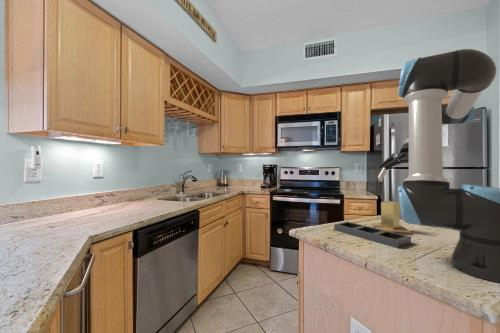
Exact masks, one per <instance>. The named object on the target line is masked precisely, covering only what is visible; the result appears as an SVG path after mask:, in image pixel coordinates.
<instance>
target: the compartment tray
mask: <svg viewBox="0 0 500 333" xmlns="http://www.w3.org/2000/svg"><path fill="white" fill-rule="evenodd" d="M333 227H334V228H333V229H334V231H335V232H338V233H341V234H347V235H348V236H349V235H350V236H353V237H356V238H359V239H363V240H366V241H369V242H374V243H378V244H380V245H384V246H388V247H391V248H395V249H400V248H403V247H406V246H409V245H411V244H412V235H402V234H398V233H394V232H390V231H385V230H381V229H377V228H373V227H372V226H367V225H364V224H359V223H354V222H351V221H344V222H340V223H334V226H333Z"/></svg>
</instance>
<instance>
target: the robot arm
mask: <svg viewBox="0 0 500 333" xmlns="http://www.w3.org/2000/svg"><path fill="white" fill-rule="evenodd" d="M496 66H497V65H496V63H495V61H494V60H493V59H492V58H491V56H489V55H488V54H487V53H485V52H483V51H480V50H478V49H471V48H464V49H463V48H462V49H456V50H453V51H447V52H443V53H438V54H434V55H428V56H423V57H420V56H419V57H417V58H413V59H409V60H406V61H405V62H404V63H403V64H402V67H401V71H400V76H399V82H398V83H399V85H398V97H399V98H403V103H405V105H407V106H408V135H407V137H406V139H405V141H404V142H403V145H402V146H401V148H400V150H399V153H398V154H395V153H391V155H390V156H388V157H387V158H386V159H385V160H383V161H382V162H381V163H380V164H379V165H378V169H379V172H378V176H377V178H378V181H379V182H383V180H384V178H385V176H386V175H387V173H388V171H387V170H389V169H391V168H393V167H395V166H397V165H400V164H405V163H407V164H408V175H407V177H406V178H404V179H403V180H402V185H400V186H398V187H397V193H398V199H399V203H400V213H401V218H402V221H404V222H405V223H406V224H408V225H417V226H419V227H423V226H424V227H430V228H431V227H433V228H441V229H451V230H458V231H459V239H458V241H457V243H456V245H455V247H454V250H453V251H452V253H451V258H450V259H451V261H450V262H451V266H453V267H454V268H455V269H457V270H459V271H461V272H463V273H465V274H468V275H470V276H473V277H475V278H479V279H482V280H485V281H486V280H487V281H491V282H495V283H500V187H493V186H487V185H486V186H484V185H478V184H467V183H461V184H460V185H459V187H458V188H451V183H450V181H449V180H448V179H447V178H446V177H444V170H443V165H444V164H443V160H444V159H443V126H444V125H445V126H446V125H457V124H459V125H462V124H469V123H471V122H473V121H474V118H475V111H476V110H475V107H474V104H475V103H476V102H477V100H478V98H479V97H480V95H481V93H482V92H483V91H485V90H487V88H489V87H490V85H491V84H492V83H493V81H494V79H495V78H496V75H497V67H496ZM450 91H452V94H451V97H450V99H449V100H448V104H447V107H446V106H445V107H442V105H443V104H442V103H443V102H442V101H444V99H446V98H447V97H448V95H449V94H448V93H449V92H450Z"/></svg>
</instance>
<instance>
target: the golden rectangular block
mask: <svg viewBox="0 0 500 333" xmlns="http://www.w3.org/2000/svg"><path fill="white" fill-rule="evenodd" d="M380 206H381V207H380V209H381V210H380V211H381V212H380V213H381V214H380V215H381V217H380V218H381V219H380V221H381V222H380V224H381V227H382V228H386V229H391V230H395V229H399V225H400V213H401V208H400V201H399V202H398V201H391V200H385V201H381V203H380Z"/></svg>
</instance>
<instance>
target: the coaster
mask: <svg viewBox="0 0 500 333" xmlns="http://www.w3.org/2000/svg"><path fill="white" fill-rule="evenodd" d="M370 224H371V225H370V227H373V228H377V229H381V230H385V231H390V232H394V233H398V234H402V235H407V236H413V232H412V231H410V230H409V229H407V228H406V227H404V226H402V225H401V224H399V229H395V230H391V229H386V228H382V227H381V223H370Z"/></svg>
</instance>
